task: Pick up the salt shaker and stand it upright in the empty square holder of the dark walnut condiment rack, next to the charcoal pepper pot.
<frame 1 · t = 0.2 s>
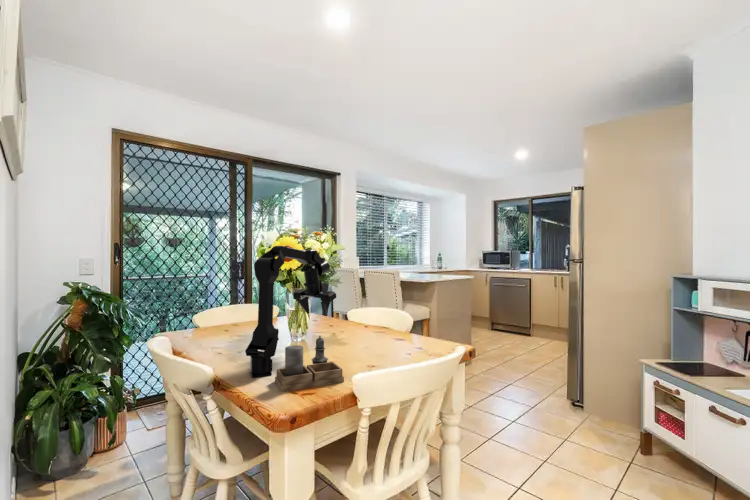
hand: (317, 314, 160), 15 cm above the table, tool pointing down, fingers open, 9 cm apart
condiment rack: (309, 381, 122), on the table
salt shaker: (319, 369, 135), on the table
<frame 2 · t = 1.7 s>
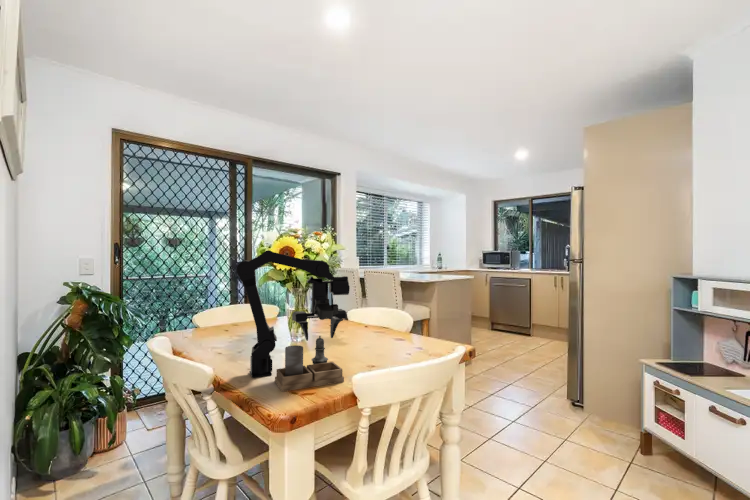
hand: (319, 339, 135), 11 cm above the table, tool pointing down, fingers open, 9 cm apart
nothing on the table moved.
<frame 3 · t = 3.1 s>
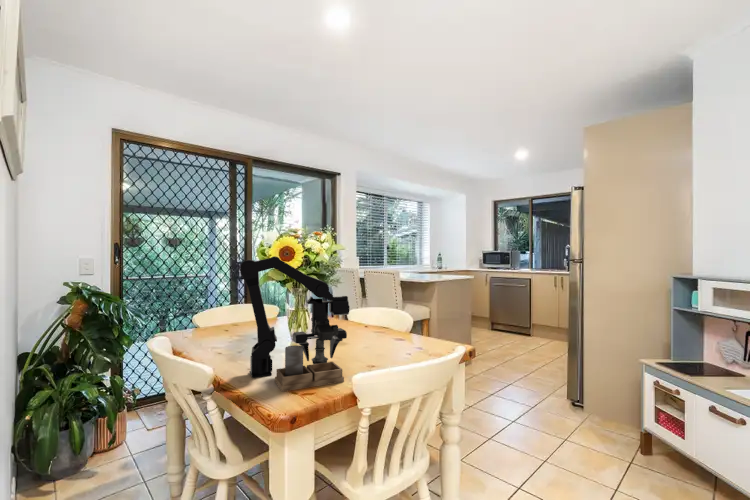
hand: (319, 359, 135), 3 cm above the table, tool pointing down, fingers closed on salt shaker, 8 cm apart
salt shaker: (319, 369, 135), on the table, touching gripper
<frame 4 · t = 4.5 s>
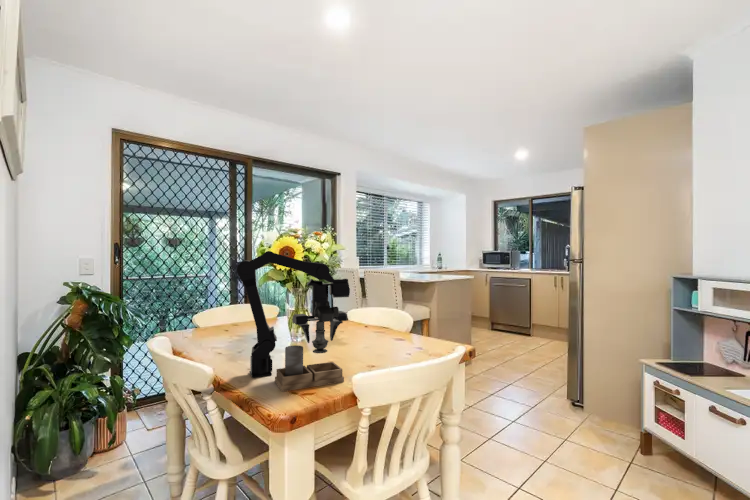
hand: (320, 341, 135), 10 cm above the table, tool pointing down, fingers closed on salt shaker, 8 cm apart
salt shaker: (320, 351, 135), point 6 cm above the table, touching gripper
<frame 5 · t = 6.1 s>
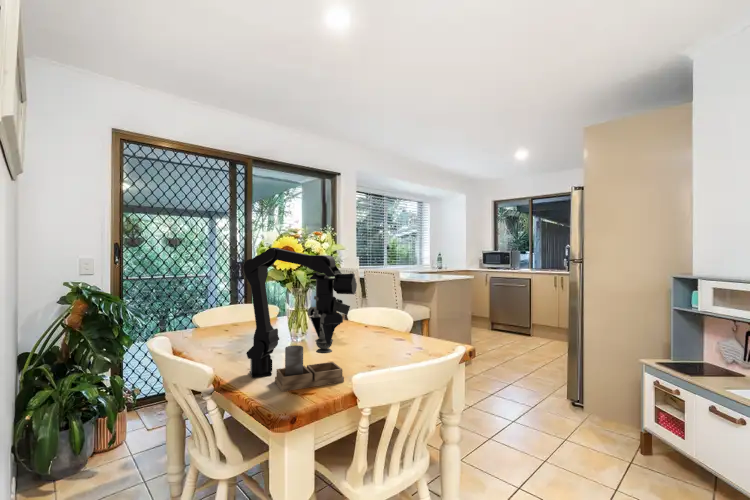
hand: (324, 340, 124), 13 cm above the table, tool pointing down, fingers closed on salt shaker, 8 cm apart
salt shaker: (324, 351, 124), point 9 cm above the table, touching gripper
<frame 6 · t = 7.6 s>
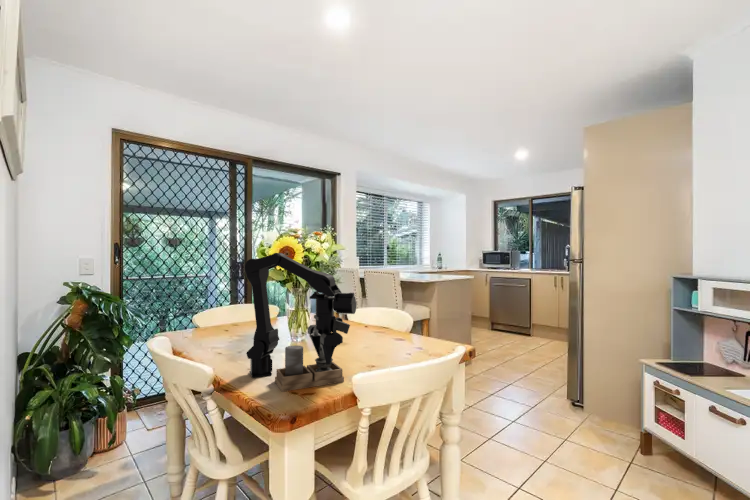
hand: (324, 360, 124), 6 cm above the table, tool pointing down, fingers closed on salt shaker, 8 cm apart
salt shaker: (323, 371, 124), point 3 cm above the table, touching gripper
when the fingers open (6 cm above the table, at t = 9.0 s): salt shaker drops 1 cm, resting on condiment rack.
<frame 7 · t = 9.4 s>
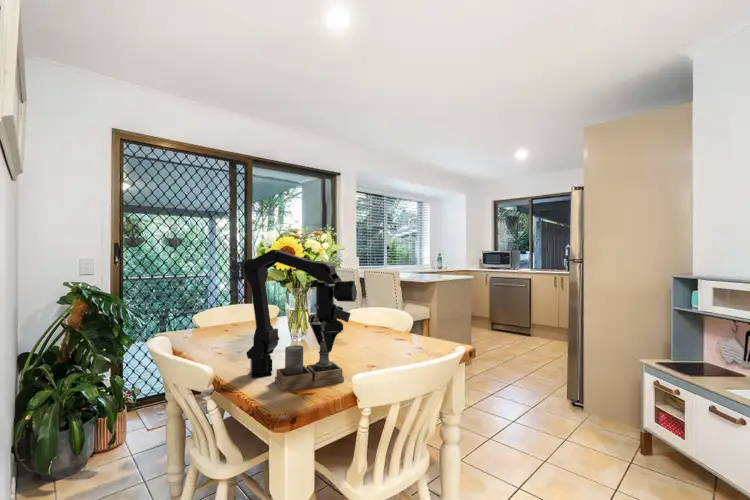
hand: (324, 348, 124), 10 cm above the table, tool pointing down, fingers open, 9 cm apart
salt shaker: (324, 375, 124), point 1 cm above the table, touching condiment rack
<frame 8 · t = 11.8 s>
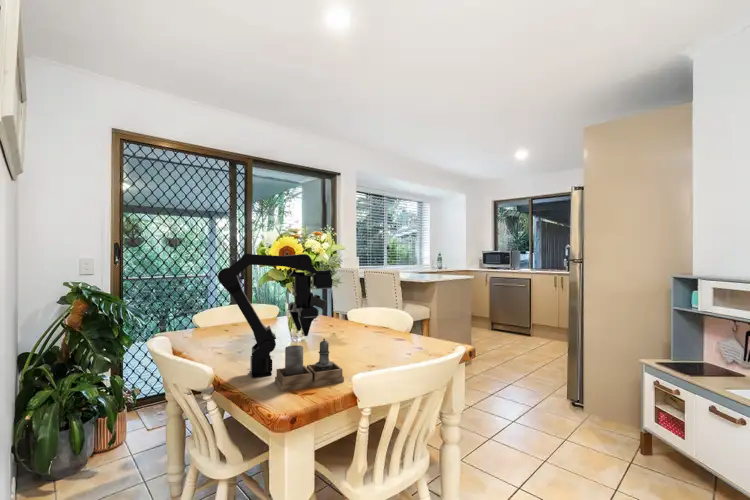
hand: (302, 333, 133), 13 cm above the table, tool pointing down, fingers open, 9 cm apart
nothing on the table moved.
at the end: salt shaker 0.1 cm from the target spot on the condiment rack, point 1.3 cm above the condiment rack's base; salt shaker tilted 0°; the gripper is holding nothing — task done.
